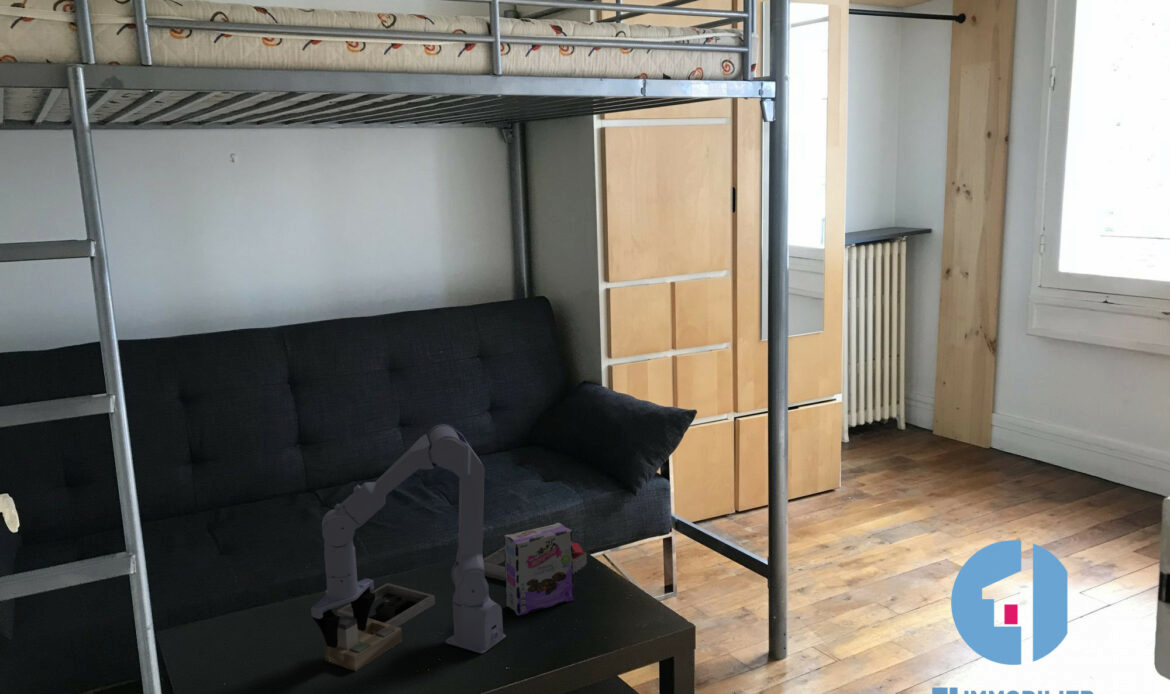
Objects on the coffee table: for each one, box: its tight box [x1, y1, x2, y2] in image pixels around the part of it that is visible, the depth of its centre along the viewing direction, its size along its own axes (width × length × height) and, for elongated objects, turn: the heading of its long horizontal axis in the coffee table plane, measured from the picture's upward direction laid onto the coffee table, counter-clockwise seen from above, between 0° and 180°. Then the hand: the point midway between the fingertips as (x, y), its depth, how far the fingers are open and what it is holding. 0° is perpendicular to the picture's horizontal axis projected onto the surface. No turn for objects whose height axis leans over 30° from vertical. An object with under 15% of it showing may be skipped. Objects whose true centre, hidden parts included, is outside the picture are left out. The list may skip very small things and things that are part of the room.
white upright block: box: [337, 615, 358, 651], centre depth 185 cm, size 3×3×8 cm
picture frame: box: [336, 582, 436, 627], centre depth 205 cm, size 14×16×2 cm
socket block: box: [323, 618, 403, 672], centre depth 188 cm, size 8×13×3 cm, turn 149°
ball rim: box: [483, 545, 588, 582], centre depth 224 cm, size 20×17×3 cm
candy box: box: [503, 522, 575, 616], centre depth 205 cm, size 14×6×16 cm, turn 120°
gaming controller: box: [374, 595, 419, 623], centre depth 204 cm, size 10×5×6 cm
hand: (346, 637), depth 185 cm, fingers open, 7 cm apart
